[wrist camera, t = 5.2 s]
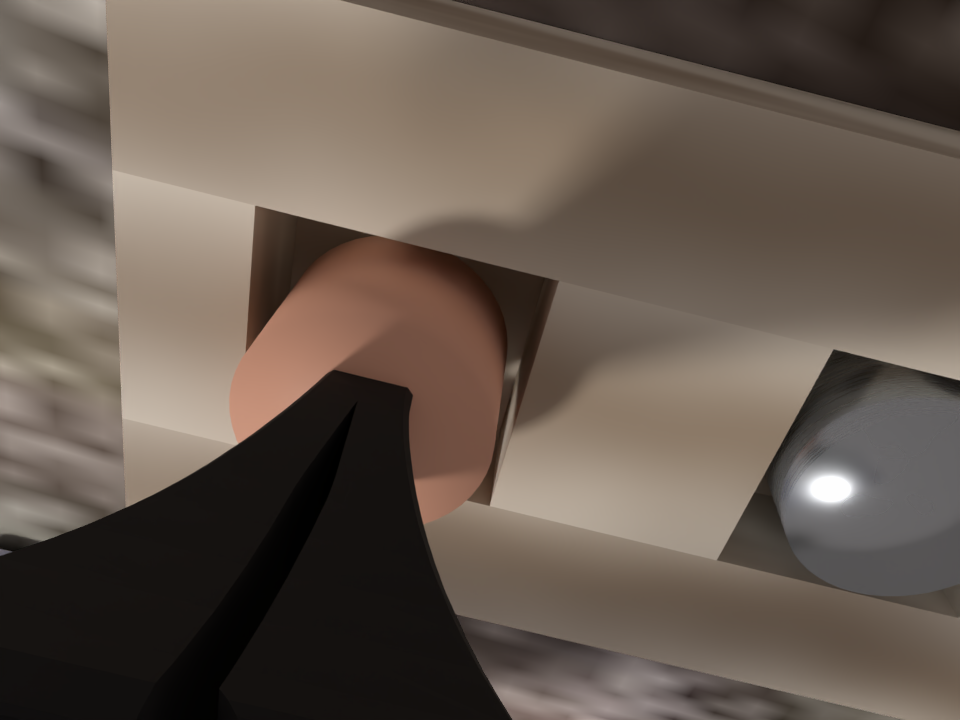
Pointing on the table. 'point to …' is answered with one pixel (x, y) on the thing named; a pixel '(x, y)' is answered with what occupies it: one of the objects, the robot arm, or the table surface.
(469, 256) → the button panel
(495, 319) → the terracotta button
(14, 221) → the table surface
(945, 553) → the grey button
